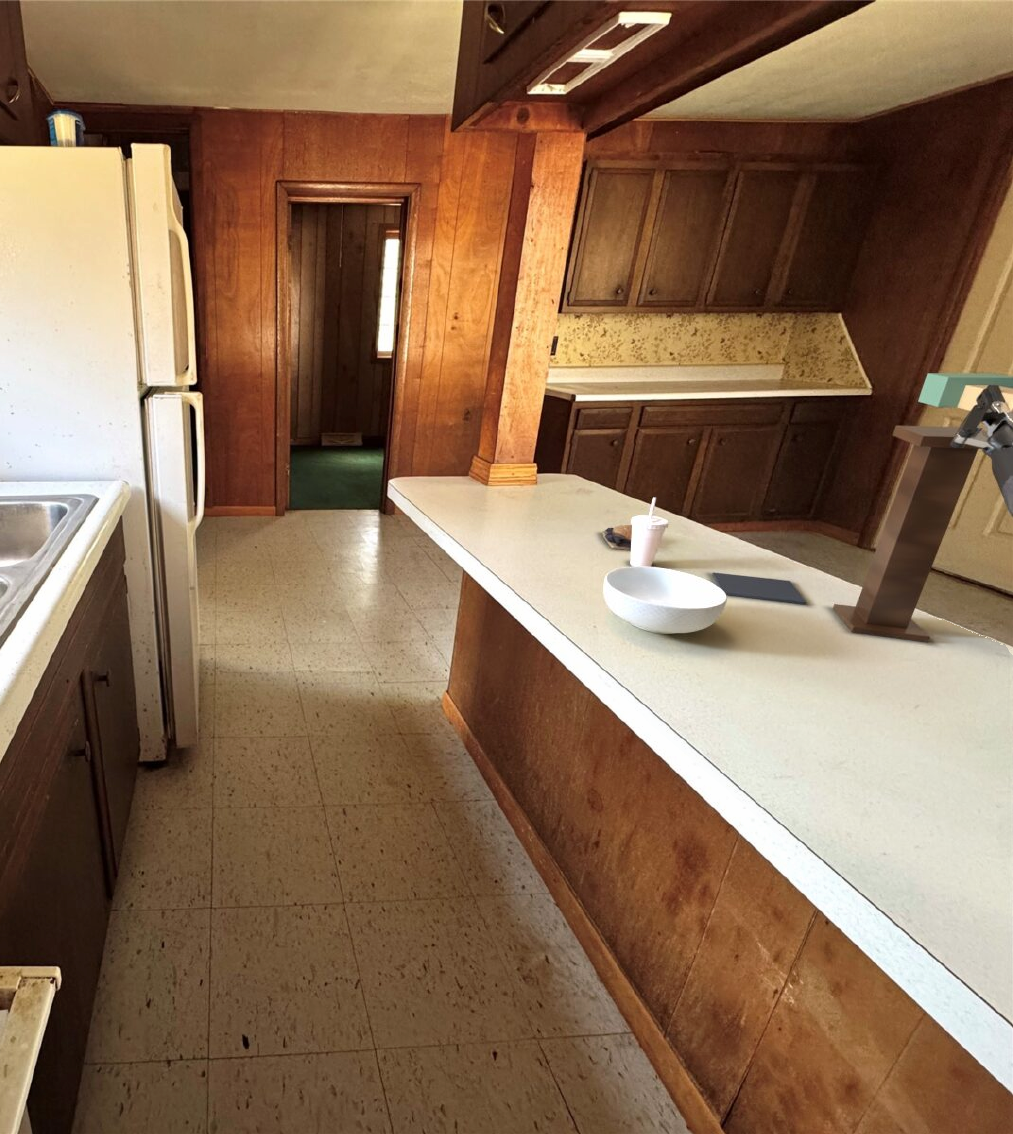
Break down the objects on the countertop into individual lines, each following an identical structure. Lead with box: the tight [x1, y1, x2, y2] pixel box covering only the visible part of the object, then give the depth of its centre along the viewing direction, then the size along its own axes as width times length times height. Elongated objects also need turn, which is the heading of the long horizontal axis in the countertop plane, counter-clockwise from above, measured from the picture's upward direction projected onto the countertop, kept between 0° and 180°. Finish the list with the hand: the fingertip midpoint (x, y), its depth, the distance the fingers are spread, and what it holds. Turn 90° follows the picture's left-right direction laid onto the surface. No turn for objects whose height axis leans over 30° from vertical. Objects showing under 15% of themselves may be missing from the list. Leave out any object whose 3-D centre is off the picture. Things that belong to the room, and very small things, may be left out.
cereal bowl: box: [602, 565, 728, 635], centre depth 102 cm, size 17×17×7 cm
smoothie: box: [629, 497, 670, 567], centre depth 124 cm, size 6×6×14 cm
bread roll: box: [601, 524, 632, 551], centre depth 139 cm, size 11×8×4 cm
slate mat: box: [711, 572, 807, 605], centre depth 114 cm, size 12×10×1 cm
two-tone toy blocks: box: [917, 372, 1013, 412], centre depth 82 cm, size 7×18×4 cm, turn 155°
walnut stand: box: [832, 425, 989, 643], centre depth 95 cm, size 9×9×31 cm
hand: (1008, 391), depth 78 cm, fingers closed on two-tone toy blocks, 3 cm apart
